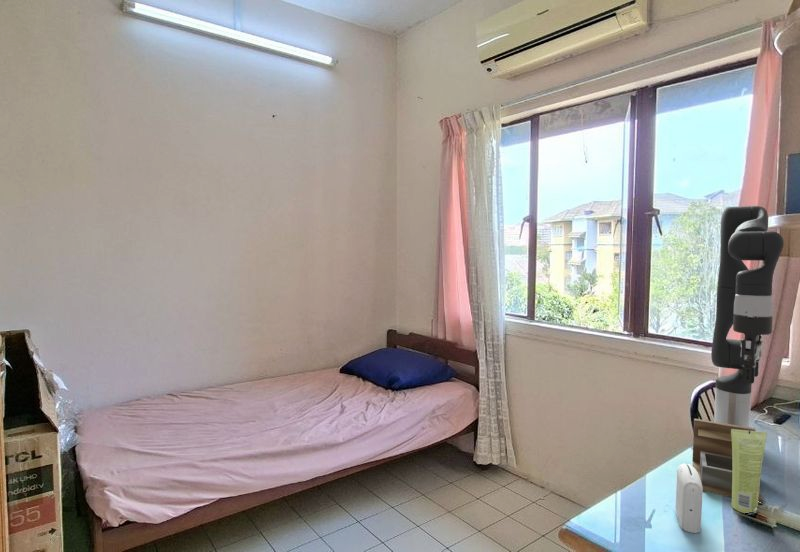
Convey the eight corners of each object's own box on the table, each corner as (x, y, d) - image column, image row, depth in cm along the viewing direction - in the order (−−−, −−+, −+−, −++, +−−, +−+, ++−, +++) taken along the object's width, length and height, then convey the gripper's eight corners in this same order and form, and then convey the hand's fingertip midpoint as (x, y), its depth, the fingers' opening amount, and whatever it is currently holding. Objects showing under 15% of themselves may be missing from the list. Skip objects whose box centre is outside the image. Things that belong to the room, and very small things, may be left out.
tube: (738, 500, 113) (742, 424, 112) (763, 511, 109) (767, 431, 107) (727, 507, 110) (730, 428, 109) (751, 518, 106) (755, 436, 104)
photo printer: (702, 535, 100) (705, 481, 99) (680, 530, 101) (682, 477, 100) (694, 510, 109) (696, 460, 108) (673, 506, 111) (675, 457, 110)
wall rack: (692, 461, 133) (694, 418, 132) (752, 474, 126) (754, 428, 125) (694, 488, 119) (696, 440, 118) (762, 504, 111) (765, 452, 111)
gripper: (737, 310, 119) (735, 371, 119) (729, 314, 108) (727, 382, 109) (774, 312, 114) (772, 376, 114) (769, 317, 103) (767, 388, 104)
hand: (750, 379), depth 112 cm, fingers open, 8 cm apart
